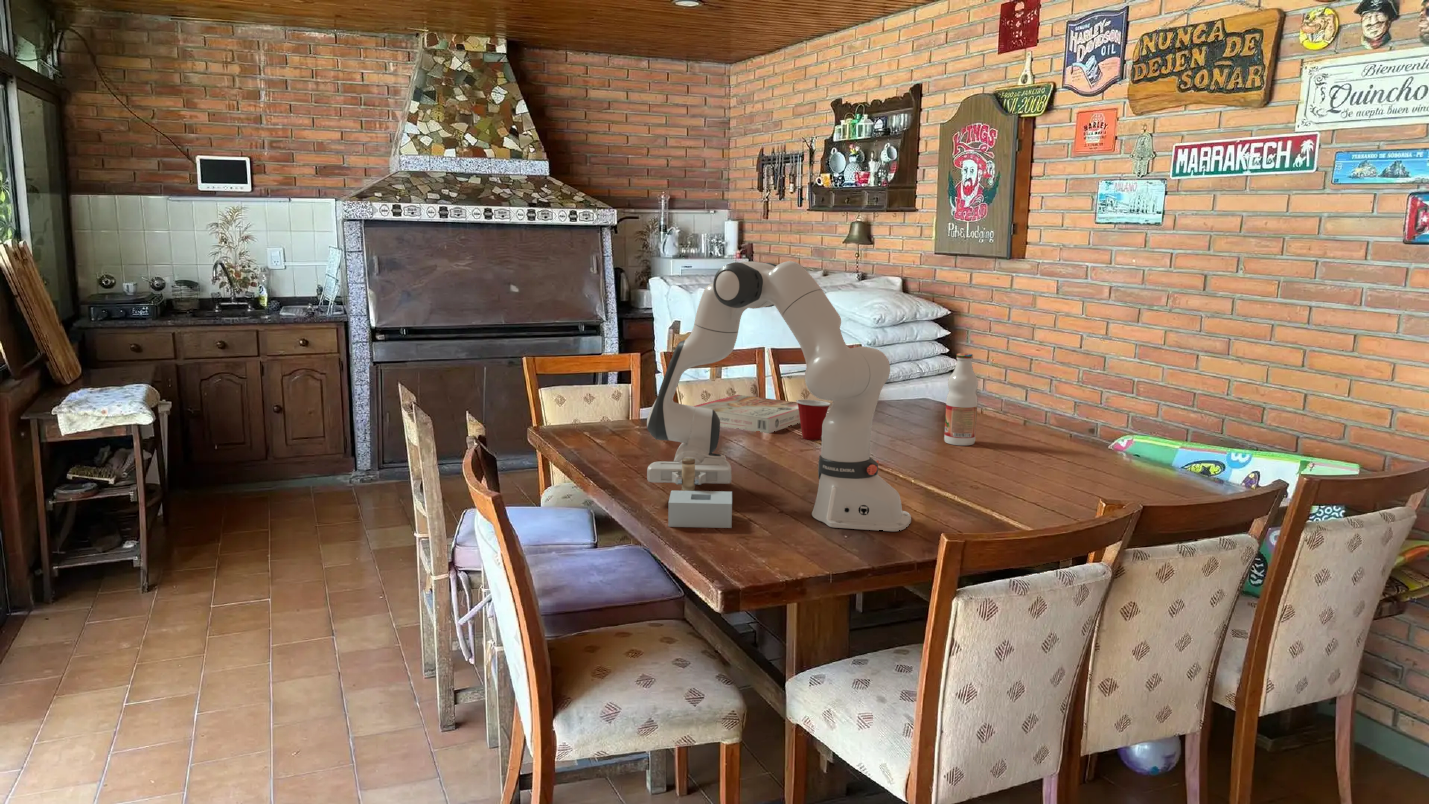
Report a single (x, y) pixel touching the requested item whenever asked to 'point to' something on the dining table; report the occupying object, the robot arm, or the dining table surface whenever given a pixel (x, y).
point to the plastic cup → (812, 417)
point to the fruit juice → (961, 403)
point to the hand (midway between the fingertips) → (688, 481)
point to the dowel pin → (688, 474)
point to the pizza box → (754, 413)
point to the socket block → (700, 509)
